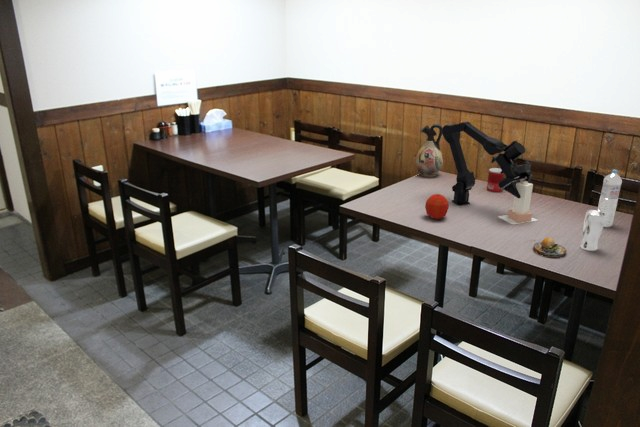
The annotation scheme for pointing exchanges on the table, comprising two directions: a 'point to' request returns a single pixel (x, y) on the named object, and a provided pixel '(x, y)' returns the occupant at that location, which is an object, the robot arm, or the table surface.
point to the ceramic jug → (430, 153)
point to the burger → (549, 249)
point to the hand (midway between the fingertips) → (525, 195)
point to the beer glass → (592, 229)
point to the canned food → (494, 179)
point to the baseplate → (513, 220)
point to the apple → (437, 206)
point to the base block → (519, 216)
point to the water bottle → (610, 197)
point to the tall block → (523, 197)
